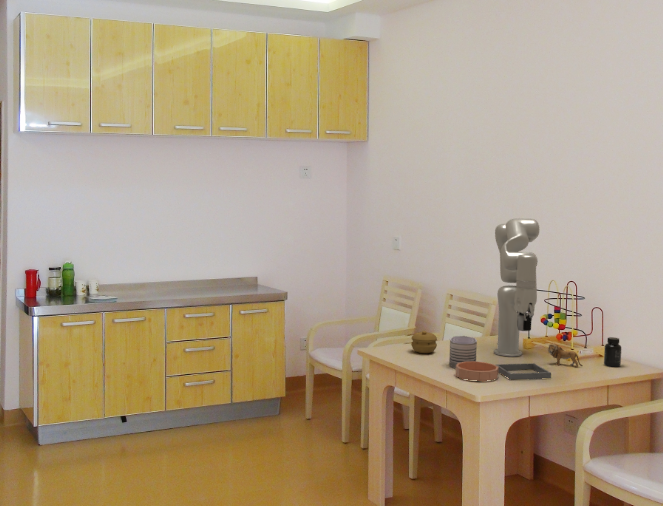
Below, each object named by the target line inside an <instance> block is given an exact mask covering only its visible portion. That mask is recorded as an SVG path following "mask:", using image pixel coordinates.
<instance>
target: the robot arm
mask: <svg viewBox="0 0 663 506" xmlns="http://www.w3.org/2000/svg"><path fill="white" fill-rule="evenodd" d="M539 234H540V225H539V222H538V221H537V219H533V218H511V219H509V220H508V221H507V222H506V223H501V224H497V226H496V227H495V230H494V237H495V243H496V245H497V247H498V251H499V262H500V263H499V268H500V270H499V271H500V272H499V273H500V274H499V275H500V279H501V281H502V282H504V283H506V284H509V285H503V286H500V287H499V288H498V290H497V305H498V324H497V326H498V327H497V343H496V344H497V348H495V349H493V354H494V355H496V356H497V355H498V356H502V357H520V356H522V355H523V352H522V351H521V350H519V349H520V331H519V330H518V315H520V314H524V320H523V330H530V331H531V330H532V321H533V316H534V315H535V307H536V304H537V302H538V292H537V291H538V289H537V288H538V287H537V266H538V256H536V255H537V254H535V253H533V252H530V251H529V252H528V251H525V252H524V251H523V250H525V249H527V247H528V246H529V243H532V242H533V241H535V240H536V239H537V238H538V236H539ZM510 284H515V285H510Z"/></svg>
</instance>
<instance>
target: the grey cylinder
mask: <svg viewBox="0 0 663 506" xmlns="http://www.w3.org/2000/svg"><path fill="white" fill-rule="evenodd" d="M523 320H524V314H520V315H518V330H519V332H520V331H521V332H530V331H531V330H523Z"/></svg>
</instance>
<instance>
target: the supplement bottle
mask: <svg viewBox="0 0 663 506" xmlns="http://www.w3.org/2000/svg"><path fill="white" fill-rule="evenodd" d="M606 341H607V343H606V344H605V345H604V349H603V350H604V351H603V352H604V353H603V365H604V366H605V367H609V368H620V367H621V362H622V346H621V345H620V338H618V337H611V336H609V337H607V340H606Z"/></svg>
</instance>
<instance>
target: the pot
mask: <svg viewBox="0 0 663 506" xmlns="http://www.w3.org/2000/svg"><path fill="white" fill-rule="evenodd" d="M437 338H438V337H437V336H436V335H435V333H432V332H428V331H426V330H423V331H420V332H415V333H414V334H412V336H411V340H412V342H411V344H410V345H411V348H412V350H414V351H415V352H416V353H420V354H430V353H433V352H434V351H435V350H436V349H437V346H438V345H437V344H438V343H437V341H438V339H437Z"/></svg>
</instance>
